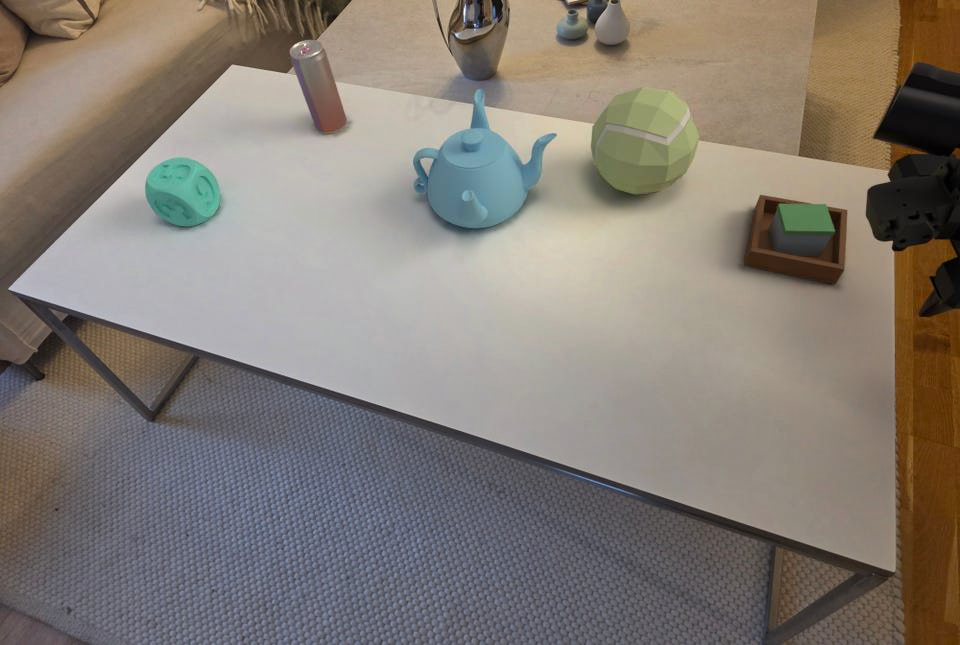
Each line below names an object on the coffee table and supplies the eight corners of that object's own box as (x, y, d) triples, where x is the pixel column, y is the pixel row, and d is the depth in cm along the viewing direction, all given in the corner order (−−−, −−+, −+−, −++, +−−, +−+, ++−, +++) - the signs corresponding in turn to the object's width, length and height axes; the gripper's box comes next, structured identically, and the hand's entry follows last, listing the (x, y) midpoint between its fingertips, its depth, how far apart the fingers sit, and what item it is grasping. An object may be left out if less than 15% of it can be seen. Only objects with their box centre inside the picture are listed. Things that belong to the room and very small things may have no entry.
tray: (753, 210, 88) (760, 194, 86) (838, 225, 85) (847, 209, 82) (744, 265, 82) (750, 250, 80) (835, 284, 79) (844, 269, 76)
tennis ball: (610, 141, 100) (619, 58, 88) (697, 164, 95) (720, 79, 83) (574, 197, 93) (579, 114, 81) (666, 225, 88) (687, 141, 76)
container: (812, 229, 84) (826, 203, 80) (820, 257, 81) (835, 231, 77) (767, 229, 85) (778, 203, 81) (773, 255, 82) (785, 230, 78)
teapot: (559, 195, 94) (561, 130, 84) (474, 260, 87) (465, 197, 77) (485, 150, 102) (479, 86, 92) (402, 206, 95) (386, 143, 85)
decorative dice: (184, 193, 102) (160, 155, 95) (226, 195, 101) (204, 157, 94) (163, 226, 97) (136, 189, 91) (207, 228, 96) (182, 191, 90)
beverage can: (310, 133, 109) (281, 56, 97) (325, 113, 112) (299, 37, 100) (338, 137, 108) (313, 60, 95) (352, 117, 111) (329, 40, 99)
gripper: (870, 104, 57) (811, 219, 70) (935, 244, 47) (851, 350, 59) (996, 102, 56) (912, 220, 69) (1093, 246, 45) (973, 355, 58)
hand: (909, 281), depth 64 cm, fingers open, 9 cm apart
